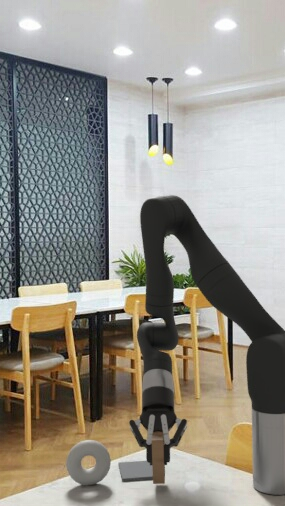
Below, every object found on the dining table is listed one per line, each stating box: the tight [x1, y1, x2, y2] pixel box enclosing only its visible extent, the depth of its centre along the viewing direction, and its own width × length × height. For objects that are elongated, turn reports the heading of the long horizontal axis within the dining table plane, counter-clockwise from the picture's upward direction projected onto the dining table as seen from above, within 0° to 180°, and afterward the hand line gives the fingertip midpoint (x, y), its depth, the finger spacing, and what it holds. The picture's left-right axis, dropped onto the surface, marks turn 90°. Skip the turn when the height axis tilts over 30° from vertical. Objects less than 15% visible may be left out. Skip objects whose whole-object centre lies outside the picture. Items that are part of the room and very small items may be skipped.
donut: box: [65, 439, 112, 486], centre depth 136 cm, size 10×4×10 cm, turn 98°
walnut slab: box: [152, 431, 166, 485], centre depth 134 cm, size 6×2×10 cm, turn 177°
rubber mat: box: [117, 460, 153, 482], centre depth 143 cm, size 9×10×1 cm
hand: (158, 463), depth 132 cm, fingers closed on walnut slab, 2 cm apart
